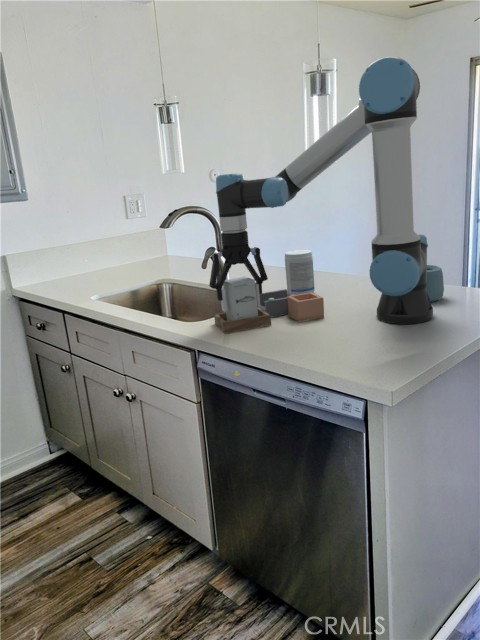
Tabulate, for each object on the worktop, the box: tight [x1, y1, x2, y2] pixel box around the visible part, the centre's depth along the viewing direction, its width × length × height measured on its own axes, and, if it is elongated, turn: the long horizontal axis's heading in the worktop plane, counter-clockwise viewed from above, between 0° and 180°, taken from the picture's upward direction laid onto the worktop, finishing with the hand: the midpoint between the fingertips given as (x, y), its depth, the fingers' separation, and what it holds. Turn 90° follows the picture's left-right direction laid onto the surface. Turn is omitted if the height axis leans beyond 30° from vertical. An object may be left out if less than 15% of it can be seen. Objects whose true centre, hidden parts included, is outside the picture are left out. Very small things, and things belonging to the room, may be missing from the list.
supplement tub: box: [284, 249, 316, 296], centre depth 182 cm, size 10×10×15 cm
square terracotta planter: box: [287, 292, 325, 323], centre depth 155 cm, size 8×8×6 cm
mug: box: [427, 264, 445, 303], centre depth 163 cm, size 15×11×10 cm
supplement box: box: [222, 276, 258, 322], centre depth 152 cm, size 7×7×13 cm
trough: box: [213, 307, 272, 334], centre depth 154 cm, size 11×14×3 cm
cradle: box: [257, 288, 295, 318], centre depth 164 cm, size 12×11×6 cm
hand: (241, 307), depth 153 cm, fingers open, 9 cm apart
